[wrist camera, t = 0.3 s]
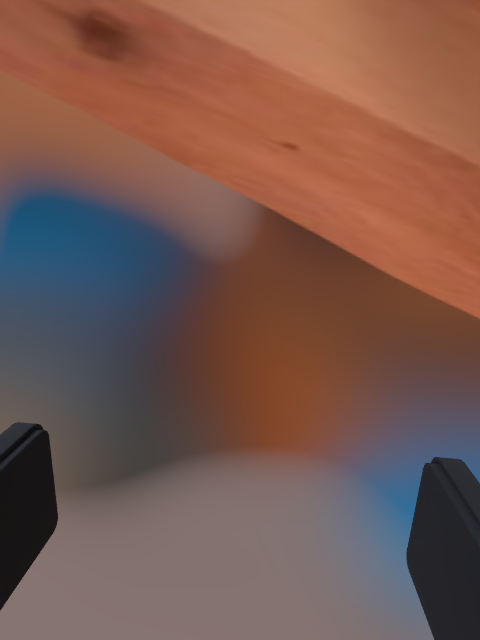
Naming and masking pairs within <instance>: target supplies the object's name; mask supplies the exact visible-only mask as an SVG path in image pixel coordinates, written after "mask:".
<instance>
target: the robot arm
mask: <svg viewBox="0 0 480 640" xmlns="http://www.w3.org/2000/svg"><path fill="white" fill-rule="evenodd" d="M57 521H58V513H57V504H56V495H55V485H54V477H53V468H52V459H51V450H50V442H49V434H48V432H47V431H45V430H43V427H42V426H41V425H39V424H32V423H20V422H18V423H14V424H13V425H11V426H10V427H9V428H8V429H7V430H5V431H4V432H3V433H2V434H1V435H0V610H1V609H2V607H3V606H4V604H5V603H6V601H7V600H8V598H9V597H10V596H11V594H12V592H13V591H14V590H15V588H16V587H17V585H18V584H19V582H20V581H21V579H22V578H23V576H24V575H25V574H26V572H27V571H28V569H29V568H30V566H31V565H32V563H33V562H34V560H35V559H36V557H37V556H38V554H39V553H40V551H41V550H42V548H43V547H44V546H45V544H46V543H47V541H48V540H49V538H50V537H51V535H52V534H53V532H54V530H55V528H56V525H57ZM407 565H408V569H409V572H410V575H411V577H412V580H413V583H414V585H415V588H416V591H417V594H418V596H419V599H420V602H421V604H422V607H423V610H424V613H425V615H426V618H427V621H428V623H429V626H430V629H431V631H432V634H433V637H434V640H480V484H479V482H478V480H477V479H476V478H475V476H474V475H473V474H472V472H471V471H470V470H469V468H468V467H467V466H466V464H465V463H464V462H463V461H462V460H460V459H451V458H439V457H435V458H433V460H432V462H431V463H426V464H425V465H424V468H423V472H422V477H421V482H420V487H419V492H418V498H417V502H416V507H415V512H414V517H413V522H412V528H411V532H410V538H409V542H408V548H407Z"/></svg>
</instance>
